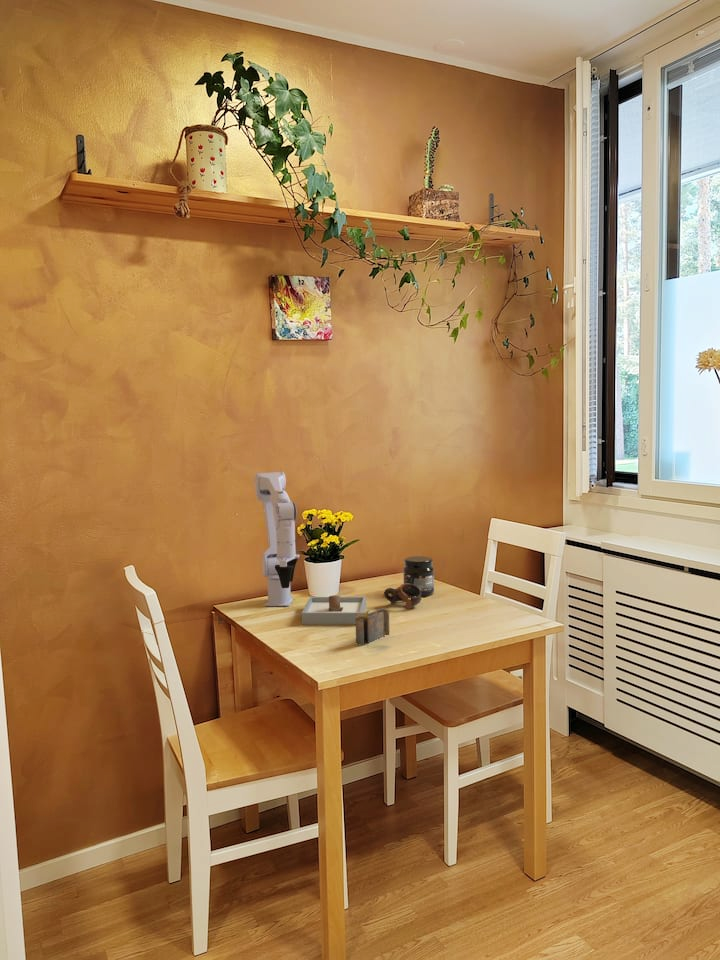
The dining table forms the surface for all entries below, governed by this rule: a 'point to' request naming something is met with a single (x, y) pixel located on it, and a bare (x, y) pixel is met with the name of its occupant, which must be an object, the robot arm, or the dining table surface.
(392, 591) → the rusty metal pipe clamp
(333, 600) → the peg
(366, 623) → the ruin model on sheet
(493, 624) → the dining table surface
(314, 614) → the crate
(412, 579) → the supplement container
